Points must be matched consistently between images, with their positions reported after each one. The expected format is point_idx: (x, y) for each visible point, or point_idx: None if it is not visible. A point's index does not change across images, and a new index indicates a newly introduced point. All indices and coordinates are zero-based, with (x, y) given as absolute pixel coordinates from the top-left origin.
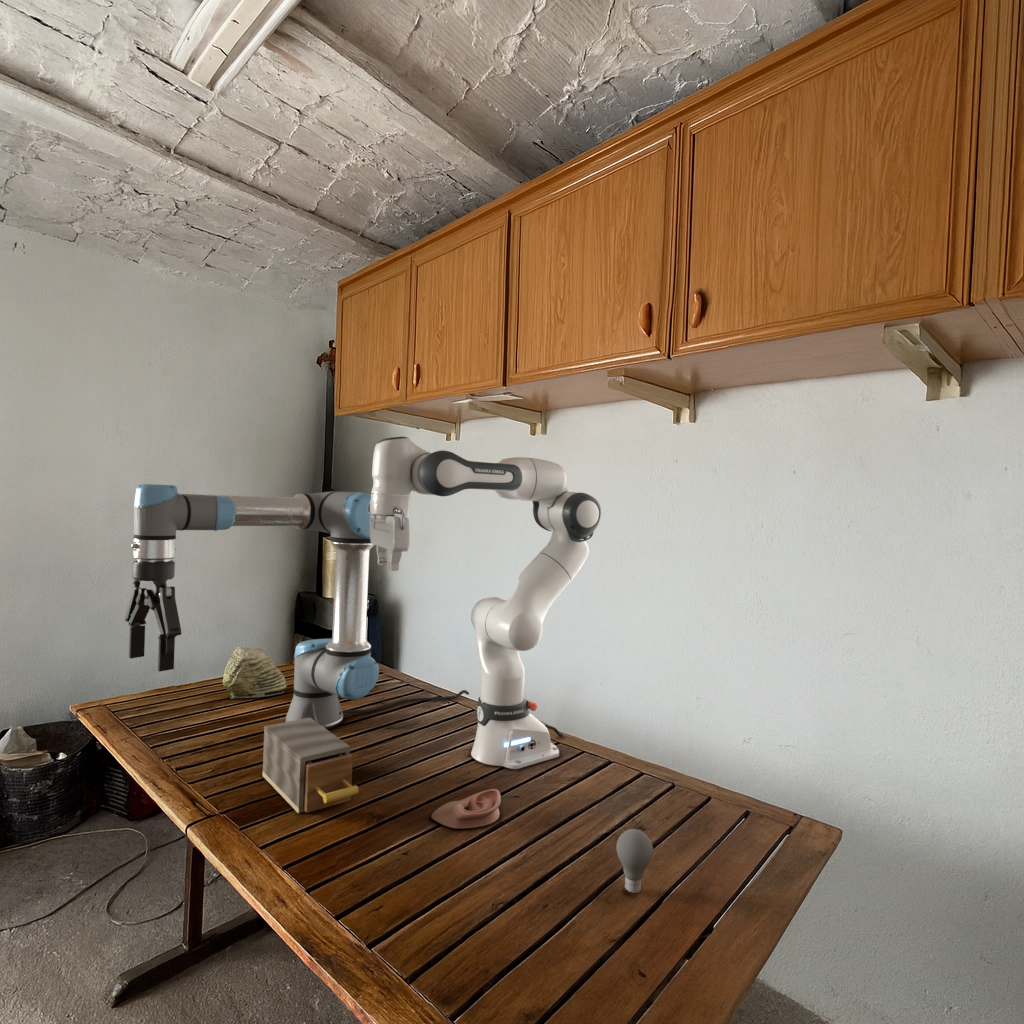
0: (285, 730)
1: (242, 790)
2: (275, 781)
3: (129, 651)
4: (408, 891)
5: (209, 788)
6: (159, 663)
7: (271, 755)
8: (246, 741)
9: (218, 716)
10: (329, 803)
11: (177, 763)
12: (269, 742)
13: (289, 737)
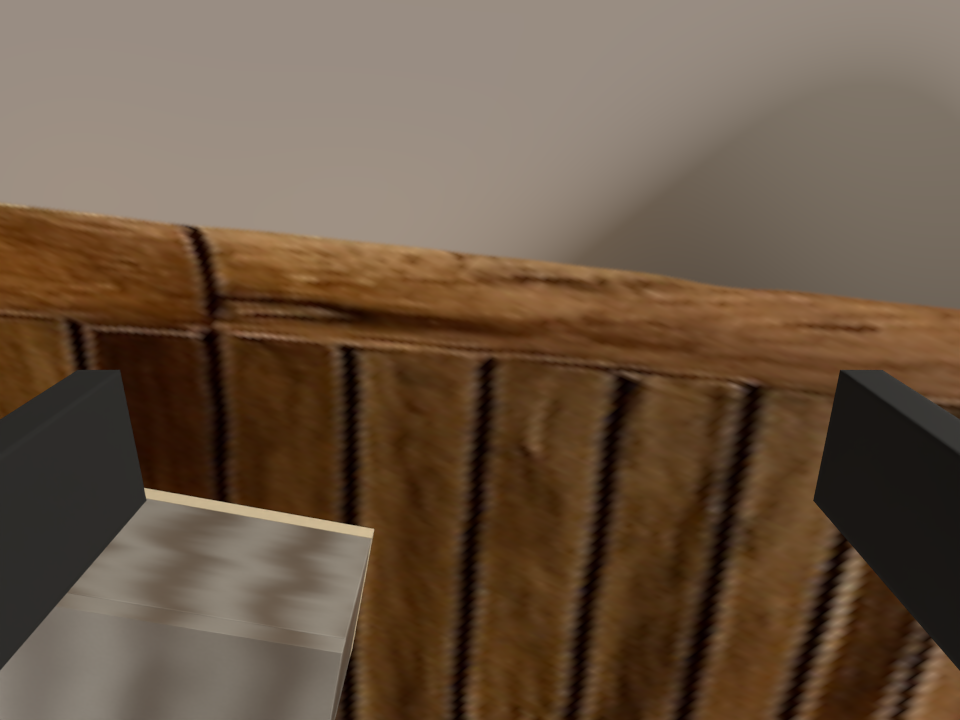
0: (243, 678)
1: (318, 444)
2: (249, 522)
3: (920, 402)
4: None
5: (404, 385)
6: (28, 406)
7: (274, 576)
8: (662, 619)
9: (947, 662)
10: None
11: (672, 402)
12: (288, 608)
13: (161, 654)
